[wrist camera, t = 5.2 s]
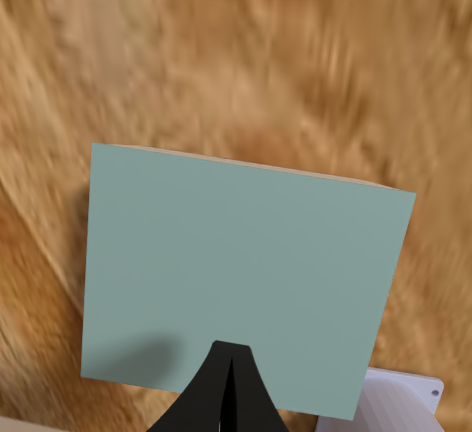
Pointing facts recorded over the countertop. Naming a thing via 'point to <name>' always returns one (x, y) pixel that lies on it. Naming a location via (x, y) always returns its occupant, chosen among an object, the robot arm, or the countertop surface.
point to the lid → (236, 274)
